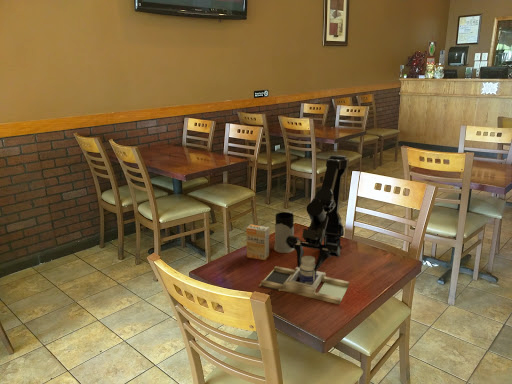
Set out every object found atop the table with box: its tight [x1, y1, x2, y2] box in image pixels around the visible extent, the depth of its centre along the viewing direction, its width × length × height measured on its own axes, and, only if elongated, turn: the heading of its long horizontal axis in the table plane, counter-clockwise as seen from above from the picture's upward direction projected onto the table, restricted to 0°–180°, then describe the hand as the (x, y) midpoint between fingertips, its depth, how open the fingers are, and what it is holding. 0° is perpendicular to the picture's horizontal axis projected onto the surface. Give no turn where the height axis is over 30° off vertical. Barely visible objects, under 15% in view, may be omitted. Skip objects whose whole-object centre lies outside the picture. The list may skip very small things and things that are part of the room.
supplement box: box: [245, 223, 270, 261], centre depth 159 cm, size 8×5×13 cm, turn 68°
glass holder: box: [273, 211, 295, 254], centre depth 169 cm, size 9×14×15 cm, turn 156°
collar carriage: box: [287, 269, 322, 290], centre depth 139 cm, size 9×9×2 cm
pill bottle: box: [299, 255, 316, 285], centre depth 138 cm, size 6×6×10 cm
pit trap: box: [258, 269, 293, 292], centre depth 144 cm, size 8×14×1 cm, turn 154°
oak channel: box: [260, 265, 350, 305], centre depth 139 cm, size 28×13×3 cm, turn 64°
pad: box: [317, 282, 349, 301], centre depth 135 cm, size 8×10×1 cm
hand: (306, 269), depth 136 cm, fingers closed on pill bottle, 6 cm apart
